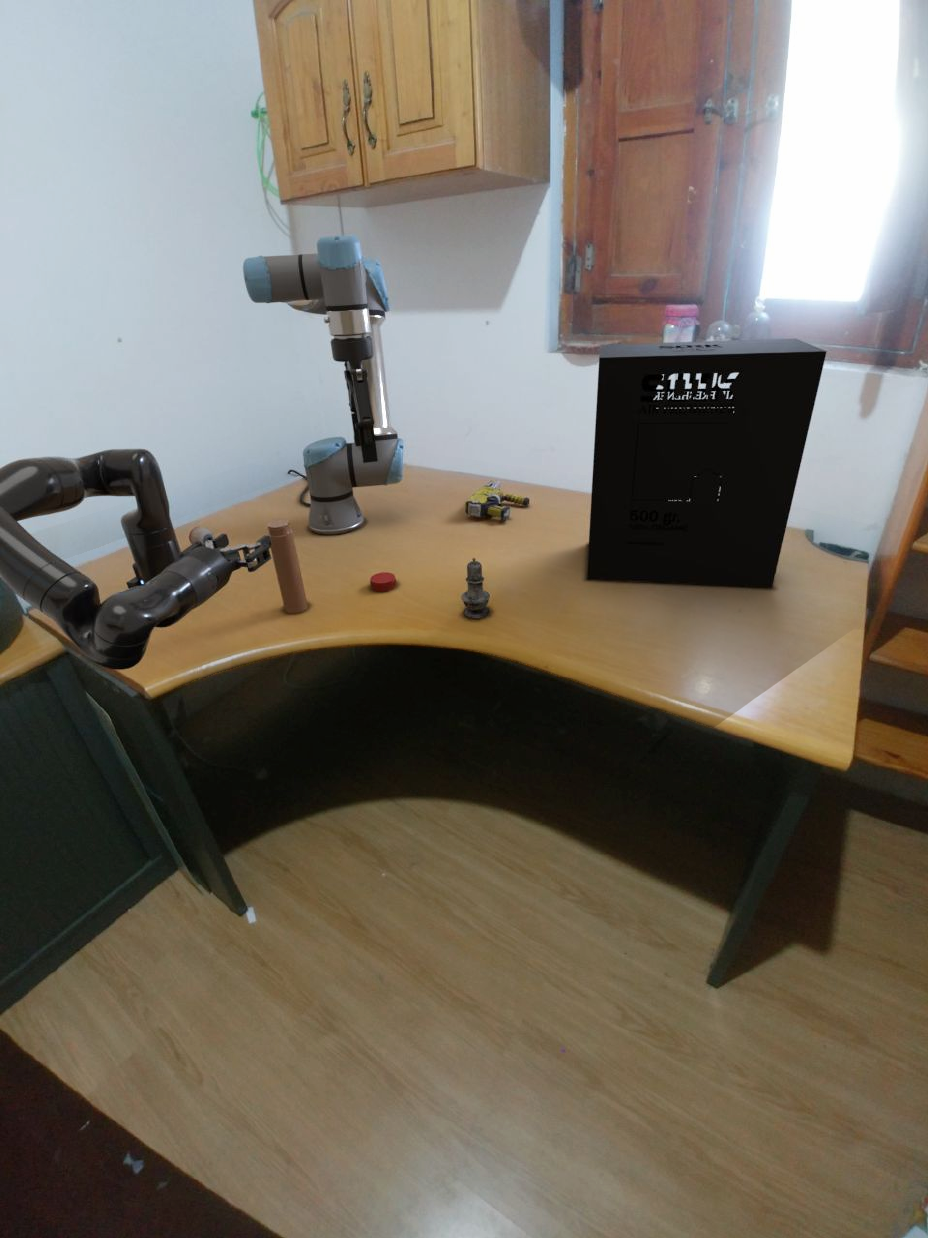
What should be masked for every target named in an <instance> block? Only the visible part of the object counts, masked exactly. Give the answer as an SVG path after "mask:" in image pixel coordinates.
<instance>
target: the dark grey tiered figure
mask: <svg viewBox="0 0 928 1238" xmlns="http://www.w3.org/2000/svg"><path fill="white" fill-rule="evenodd" d="M471 560H472V561H471ZM471 560H470V562H468V563H467V565H466V574H467V575H466V576H467V577H466V578H465V582H466V583H467V589H466V591H464V592H463V593H462V594H461V596H460V599H461V600H462V602H463V605H464V606H465V608H464V609H463V615H464V616H465V617H467V618H469V619H481V618H485V617H487V616H488V615H489V614H490V609H489V608H488V607H487V606H488V604H489V602H490V599H491V594H490V592H489V591H487V590H484V581H485V577H484V576H483V566H482V563H481V562H480V561H477V560H476V557H473V558H472V559H471Z"/></svg>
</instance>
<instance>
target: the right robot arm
mask: <svg viewBox="0 0 928 1238" xmlns="http://www.w3.org/2000/svg"><path fill="white" fill-rule="evenodd" d="M361 247H362V246H361V241H360V239H359V237H357V236H356V235H331V236H329V235H328V236H322V237H320V238H318V239H317V241H316V253H303V254H300V253H299V254H287V255H286V254H285V255H267V256H266V255H265V256H263V255H258V256H253V257H247V258H245V259H244V260H243V264H242V272H243V273H242V274H243V279H244V285H245V288H246V293H247V294H248V296H249V298H250V300H251V301H252V302H253V303H255V304H272V303H285V304H286V305H288V306H289V307H290V308H292V309H293V310H296V311H300V312H304V313H309V314H314V315H315V314H316V315H324V316H325V315H326V317H324V318H323V322H324V324H328V332H329V333H328V334H329V335H330V336H331V337H333V338H331V339H330V348H331V354H332V359H333V361H334V362H338V363H339V362H340V363H343V365H344V369H345V370H343V374H344V380H345V384H346V389H347V396H348V406H349V410H350V412H351V413H350V415H351V423H352V431H353V442H347V440H346V439H345V437H343V436H332V437H327V438H323V439H318V440H316V441H314V442H312V443H311V442H310V443H309V444H308V445H306V446H305V447H304V448H303V450H302V457H303V459H302V460H303V467H304V471H305V475H304V474H303V473H300V472H299V471H297V470H296V469H289V470H288V471H287V474H288V475H290V474H291V473H294V474H296V475H297V476H299V477H302V478H303V479H306V481H307V485H306V487H305V488H304V489H303V491H302V492H301V494H300V496H299V502H300V503H301V504H302V505H304V506H307V507H309V513H308V528H309V529H308V530H310V531H311V532H312V533H314V534H317V535H323V536H324V535H325V536H327V535H329V536H331V535H339V534H340V535H341V534H345V533H350V532H353V531H355V530H357V529H359V528H361V527H362V526H363V525H364V523H365V519H364V514H363V512H362V510H361V508H360V505H359V504H358V501H357V500H356V498H355V495H354V489H353V488H364V487H365V488H366V487H376V486H385V487H386V486H388V485H396V484H399V483H401V482H402V481H403V476H404V439H402V438H401V437H400V438H399V435H398V431H397V430H395V428H394V427H393V426H392V424H391V423H392V422H391V415H390V414H391V413H390V405H389V404H390V403H389V397H388V388H387V387H388V385H387V376H386V368H385V357H384V348H383V340H382V339H383V338H382V330H381V327H382V325H383V323H384V322H386V313H388V312H389V311H391V304H390V300H389V296H388V290H387V285H386V280H385V277H384V272H383V269H382V265H381V263H380V261H379V260H378V259H376V258H364V256H363V255H364V254H363V252H362V248H361ZM307 491H308V492H309V498H310V503H309V502H305V500H303V498H304V495H305V493H306V492H307Z"/></svg>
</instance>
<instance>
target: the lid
mask: <svg viewBox="0 0 928 1238" xmlns="http://www.w3.org/2000/svg"><path fill="white" fill-rule="evenodd" d="M369 581H370V588H371V589H372V590H373V591H376V592H381V593H382V592H388V591H391V590H393V589H395V587H396V586H397V579H396V575H395V574H394V573H392V572H389V571H388V572H387V571H386V572H385V571H383V572H377V573H375V574H373V575H371V577H370V580H369Z"/></svg>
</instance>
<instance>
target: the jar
mask: <svg viewBox="0 0 928 1238" xmlns="http://www.w3.org/2000/svg"><path fill="white" fill-rule="evenodd" d="M267 530H268V532H267V535H269V536H270V538H271V542H272V547H271V548H270V553H271V558H272V561H273V565H274V570H275V574H276V578H277V583H278V587H279V591H280V595H281V600H282V604H283V609H284V611H285V613H287V614H293V615H295V614H300V613H303V612H304V611H306V610H307V609H308V607H309V605H308V600H307V595H306V590H305V586H304V581H303V575H302V571H301V567H300V561H299V557H298V553H297V547H296V542H295V537H294V532H293V529H292V528H290V521H288V520H286V519H278V520H273V521H271V522H268V523H267Z"/></svg>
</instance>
